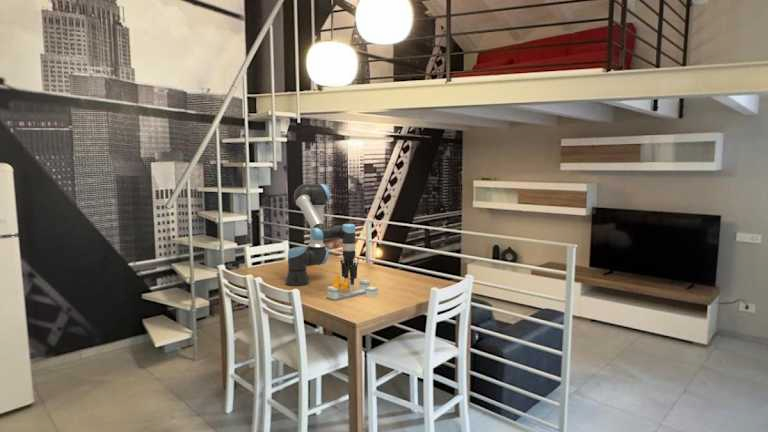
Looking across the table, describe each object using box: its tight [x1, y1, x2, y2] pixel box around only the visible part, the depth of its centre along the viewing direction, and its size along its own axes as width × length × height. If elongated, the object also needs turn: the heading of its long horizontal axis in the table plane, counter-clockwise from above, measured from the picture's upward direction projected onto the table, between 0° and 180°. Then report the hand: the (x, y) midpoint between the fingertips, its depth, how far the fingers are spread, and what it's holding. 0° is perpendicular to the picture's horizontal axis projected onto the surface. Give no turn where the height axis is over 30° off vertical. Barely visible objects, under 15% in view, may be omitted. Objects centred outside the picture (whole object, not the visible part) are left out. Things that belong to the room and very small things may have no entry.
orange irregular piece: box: [332, 275, 350, 291], centre depth 288 cm, size 12×4×6 cm, turn 137°
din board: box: [326, 288, 366, 302], centre depth 293 cm, size 8×28×1 cm, turn 136°
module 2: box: [358, 279, 371, 291], centre depth 302 cm, size 6×3×6 cm, turn 46°
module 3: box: [365, 286, 379, 299], centre depth 292 cm, size 5×5×5 cm
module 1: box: [326, 285, 339, 299], centre depth 284 cm, size 6×3×6 cm, turn 45°
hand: (349, 289), depth 293 cm, fingers closed on orange irregular piece, 3 cm apart
